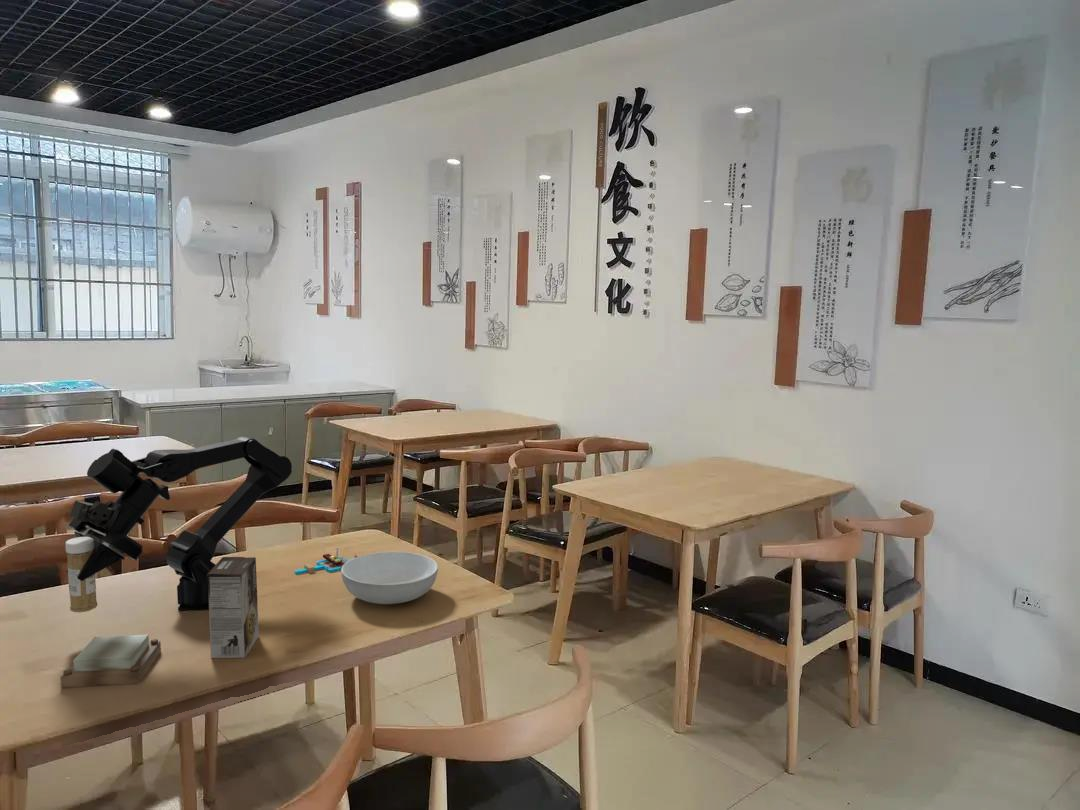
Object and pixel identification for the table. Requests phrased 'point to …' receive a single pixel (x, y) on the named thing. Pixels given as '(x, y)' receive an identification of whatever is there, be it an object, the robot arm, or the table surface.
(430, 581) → the serving bowl
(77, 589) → the sprinkles bottle
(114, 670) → the brick tower base
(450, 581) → the table surface
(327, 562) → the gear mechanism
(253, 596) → the coffee box
